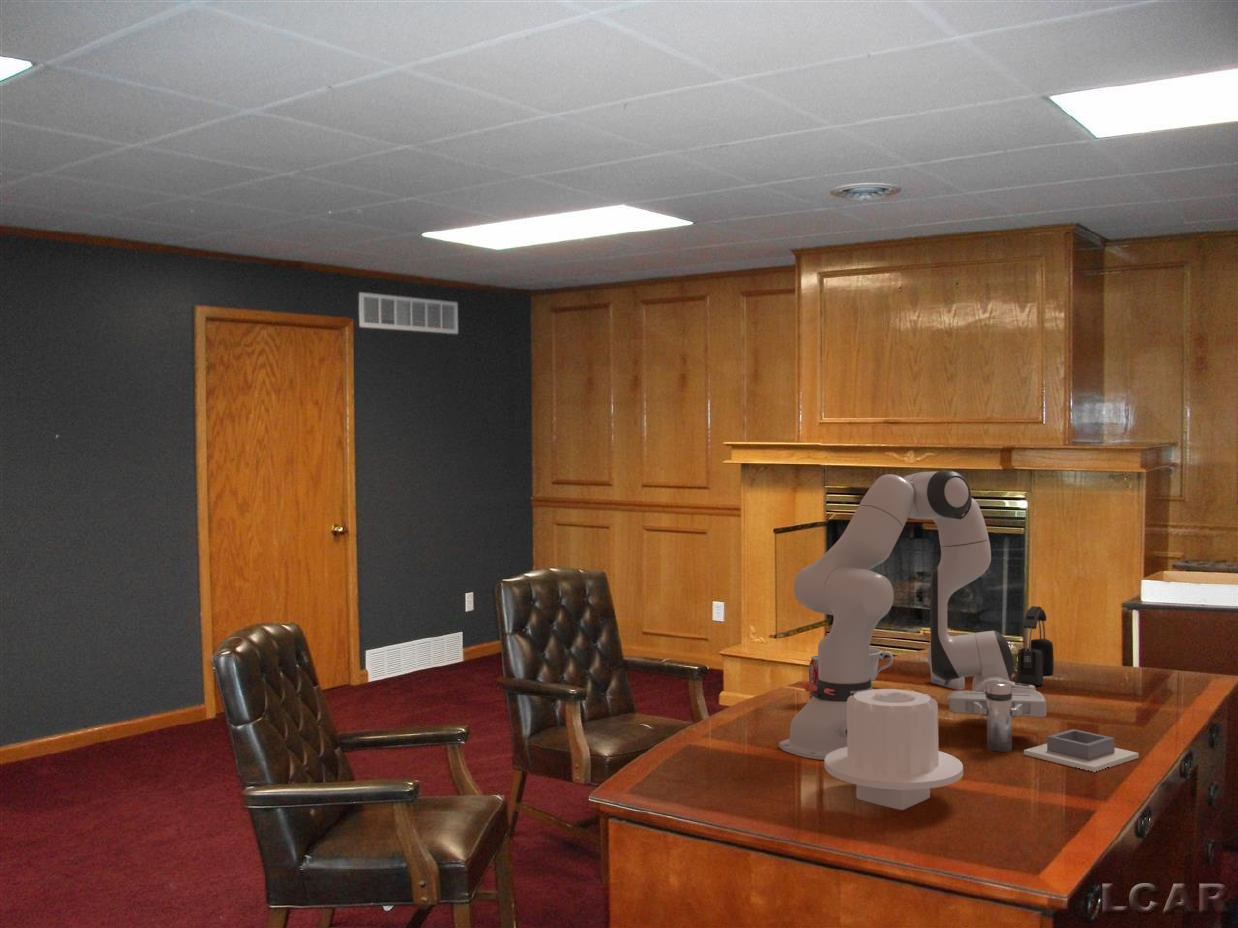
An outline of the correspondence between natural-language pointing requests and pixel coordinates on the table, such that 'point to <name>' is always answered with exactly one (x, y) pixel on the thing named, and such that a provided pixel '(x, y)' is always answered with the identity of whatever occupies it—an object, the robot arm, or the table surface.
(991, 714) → the capped metal cylinder
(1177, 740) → the table surface
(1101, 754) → the socket mount
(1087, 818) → the table surface
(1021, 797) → the table surface
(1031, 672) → the headphones
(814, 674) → the soda can
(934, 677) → the ink cartridge box
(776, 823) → the table surface
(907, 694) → the flanged gear
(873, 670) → the teacup
